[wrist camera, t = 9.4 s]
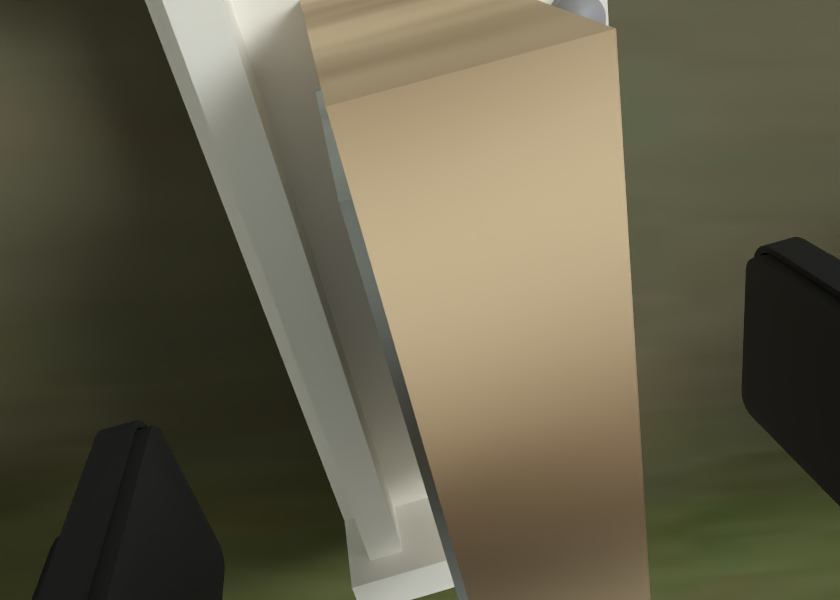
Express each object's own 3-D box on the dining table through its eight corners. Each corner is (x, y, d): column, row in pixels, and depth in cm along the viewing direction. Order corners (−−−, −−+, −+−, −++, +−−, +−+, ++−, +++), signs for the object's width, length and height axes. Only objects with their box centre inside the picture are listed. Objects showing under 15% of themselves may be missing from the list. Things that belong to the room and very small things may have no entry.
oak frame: (519, 410, 17) (655, 692, 11) (418, 439, 17) (499, 741, 11) (439, -37, 11) (616, 28, 6) (290, 3, 11) (307, 111, 5)
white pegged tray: (591, 443, 19) (646, 538, 16) (350, 512, 19) (363, 621, 16) (523, -277, 11) (610, -342, 8) (91, -180, 11) (23, -211, 8)
